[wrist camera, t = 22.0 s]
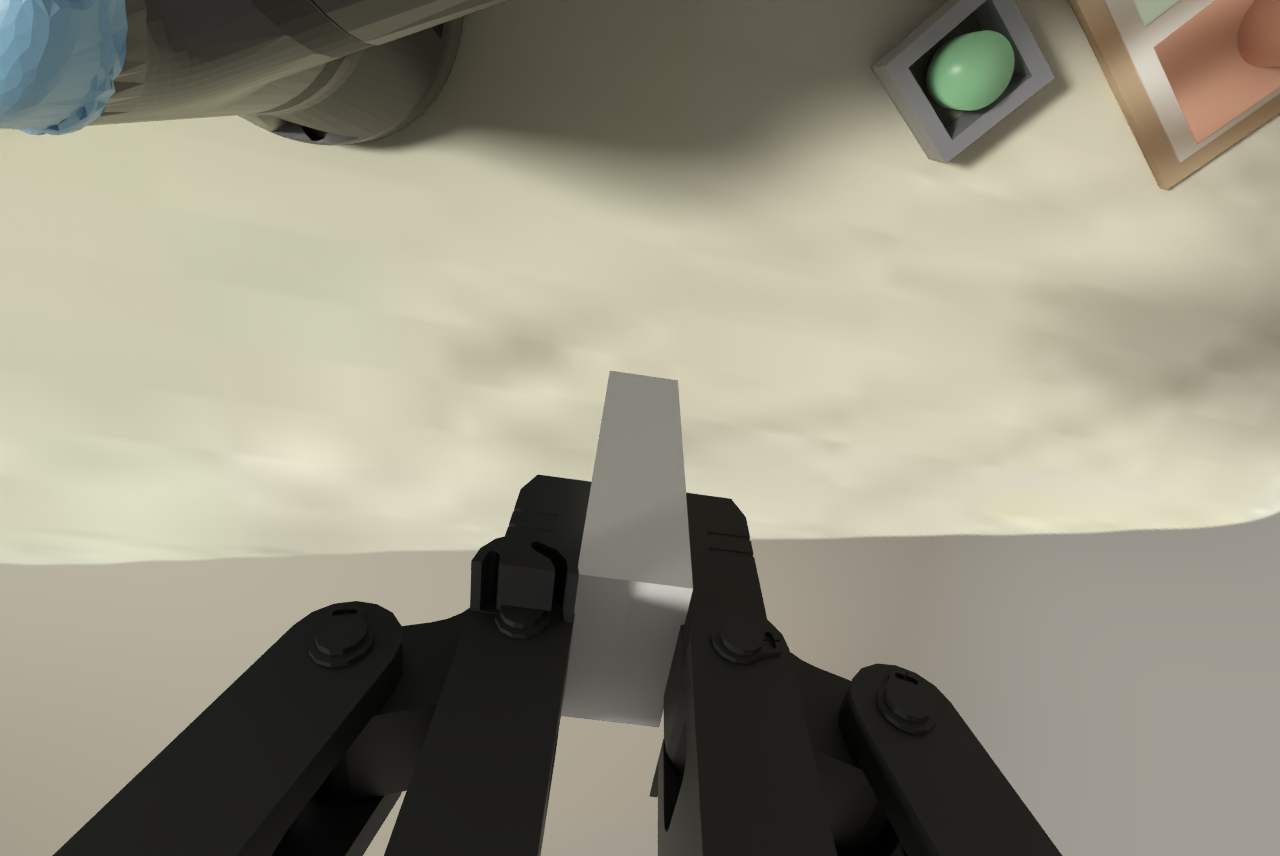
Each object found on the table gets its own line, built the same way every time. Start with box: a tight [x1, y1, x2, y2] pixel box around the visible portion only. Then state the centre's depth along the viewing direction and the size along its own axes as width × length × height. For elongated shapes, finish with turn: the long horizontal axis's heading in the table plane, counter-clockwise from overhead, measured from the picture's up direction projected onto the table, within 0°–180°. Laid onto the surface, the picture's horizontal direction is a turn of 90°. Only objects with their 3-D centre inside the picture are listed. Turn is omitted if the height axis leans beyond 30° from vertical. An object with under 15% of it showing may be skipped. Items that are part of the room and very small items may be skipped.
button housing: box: [871, 0, 1055, 163], centre depth 33 cm, size 6×6×2 cm
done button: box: [926, 30, 1015, 111], centre depth 32 cm, size 3×3×2 cm
